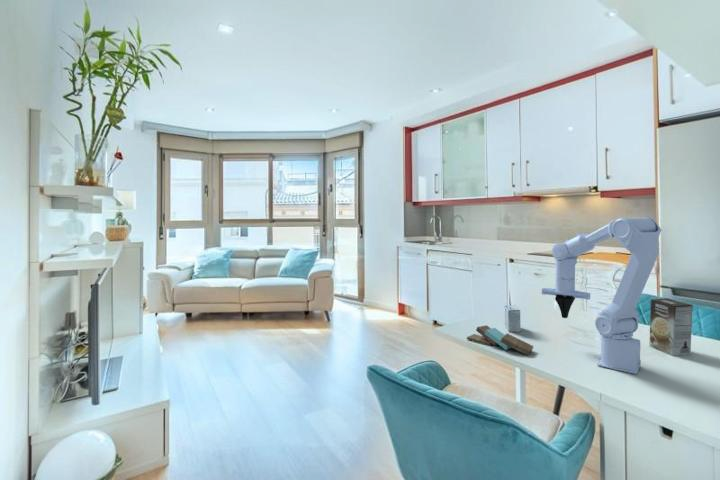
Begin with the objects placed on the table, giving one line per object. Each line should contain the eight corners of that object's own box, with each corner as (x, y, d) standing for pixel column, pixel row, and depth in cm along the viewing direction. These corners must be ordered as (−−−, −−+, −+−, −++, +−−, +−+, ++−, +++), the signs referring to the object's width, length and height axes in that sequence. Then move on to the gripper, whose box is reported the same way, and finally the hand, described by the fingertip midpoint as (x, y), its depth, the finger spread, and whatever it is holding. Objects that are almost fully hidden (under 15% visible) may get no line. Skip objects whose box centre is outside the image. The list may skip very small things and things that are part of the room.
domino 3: (533, 346, 122) (506, 333, 127) (529, 351, 118) (502, 337, 123) (532, 350, 122) (505, 337, 128) (527, 355, 119) (500, 341, 124)
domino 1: (505, 339, 129) (486, 325, 136) (496, 341, 127) (477, 326, 134) (504, 343, 130) (485, 329, 137) (494, 345, 127) (476, 330, 134)
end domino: (496, 339, 131) (474, 334, 138) (489, 343, 128) (466, 337, 135) (496, 344, 131) (474, 338, 138) (489, 347, 128) (466, 341, 135)
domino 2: (516, 343, 125) (494, 327, 132) (507, 346, 122) (486, 330, 129) (514, 347, 126) (493, 331, 133) (505, 350, 123) (484, 333, 130)
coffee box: (647, 346, 124) (649, 298, 123) (665, 345, 124) (667, 297, 123) (672, 356, 115) (674, 305, 114) (692, 355, 115) (694, 304, 114)
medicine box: (520, 332, 141) (520, 310, 141) (508, 332, 142) (508, 309, 141) (516, 326, 149) (516, 304, 148) (504, 325, 150) (504, 304, 149)
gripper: (592, 278, 124) (592, 318, 125) (546, 274, 134) (545, 311, 135) (587, 281, 119) (587, 323, 120) (539, 277, 129) (539, 315, 130)
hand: (564, 317), depth 127 cm, fingers closed
